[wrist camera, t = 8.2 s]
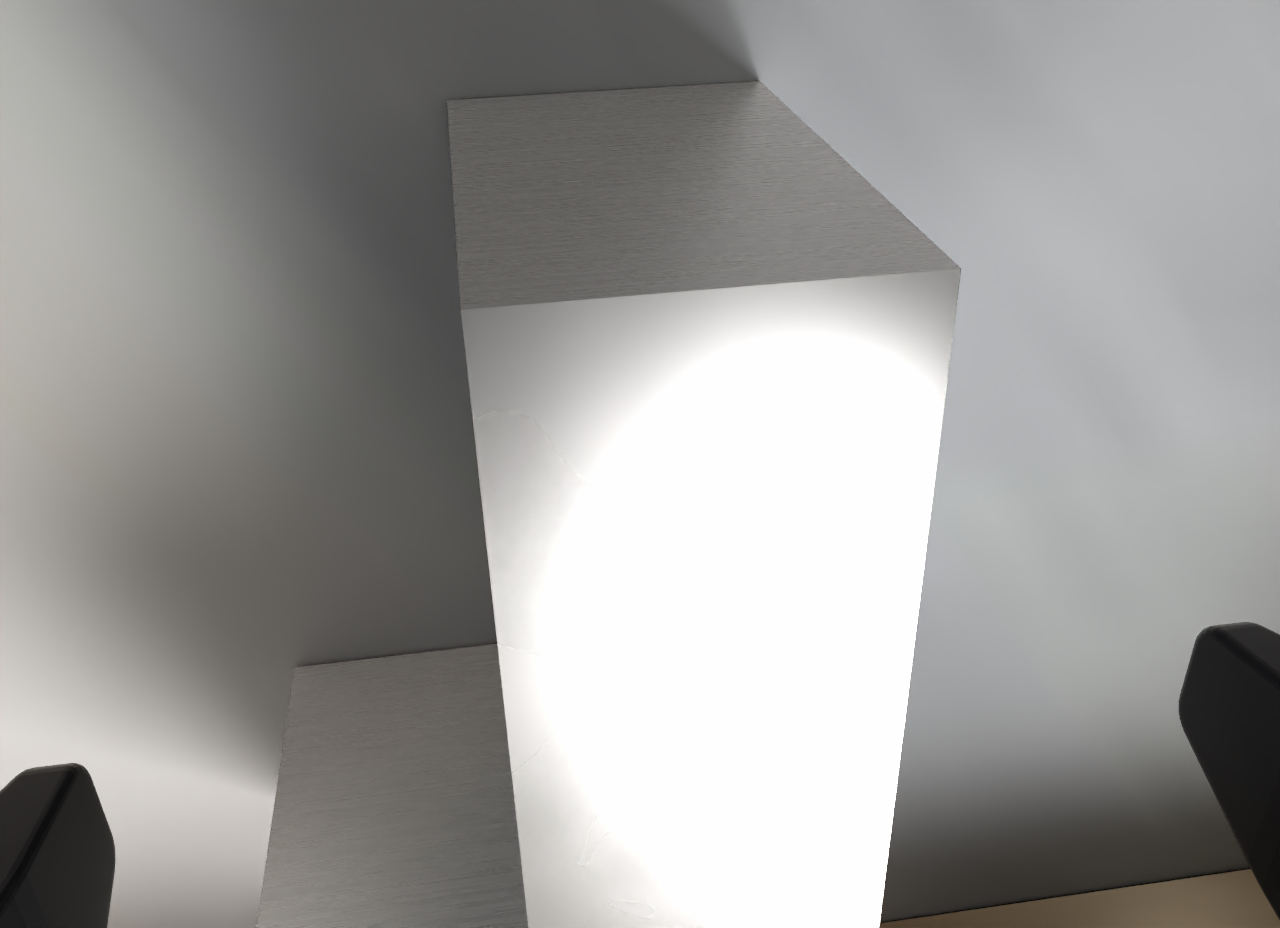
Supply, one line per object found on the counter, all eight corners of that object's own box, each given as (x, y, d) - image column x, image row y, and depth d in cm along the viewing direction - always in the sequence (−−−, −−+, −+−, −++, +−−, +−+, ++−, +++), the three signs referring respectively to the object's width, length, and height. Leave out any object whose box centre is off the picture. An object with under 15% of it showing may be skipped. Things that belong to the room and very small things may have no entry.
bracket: (740, 760, 16) (854, 1120, 12) (327, 814, 15) (289, 1219, 11) (760, 81, 11) (959, 268, 7) (169, 117, 11) (1, 346, 6)
